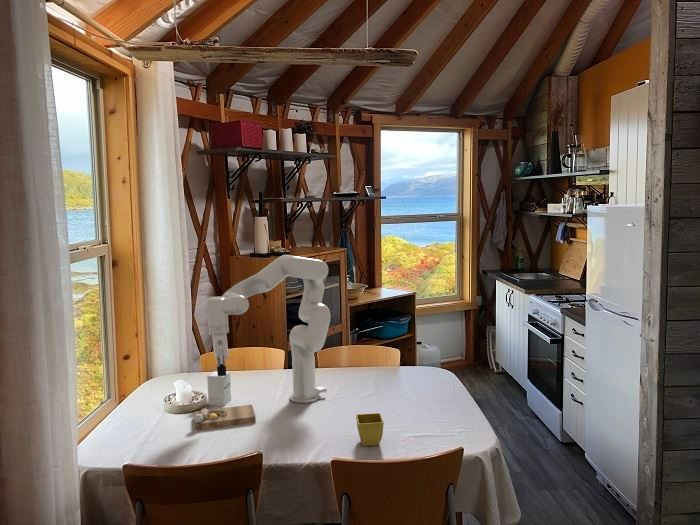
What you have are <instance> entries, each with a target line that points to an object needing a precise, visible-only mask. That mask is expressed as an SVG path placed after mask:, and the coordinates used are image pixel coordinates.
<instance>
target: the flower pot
mask: <svg viewBox="0 0 700 525" xmlns="http://www.w3.org/2000/svg"><path fill="white" fill-rule="evenodd" d="M355 419H356V427H357V432H358V435H359V436H358V437H359V439H360V442H361V444H362V445H363V447H371V446H379V444H380V443H381V441H382V438H383V435H384V434H383V433H384V423H385V422H384V420H383V417H382V415H381V413H380V412H378V413H377V412H376V413H357V414H355Z"/></svg>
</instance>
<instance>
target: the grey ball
mask: <svg viewBox="0 0 700 525" xmlns="http://www.w3.org/2000/svg"><path fill="white" fill-rule="evenodd" d="M193 420H194V422H195V423H196V422H197V423H200V422H201V421H202V420H203V416H202V415H201V414H197V415H195V416H194V417H193Z"/></svg>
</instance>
